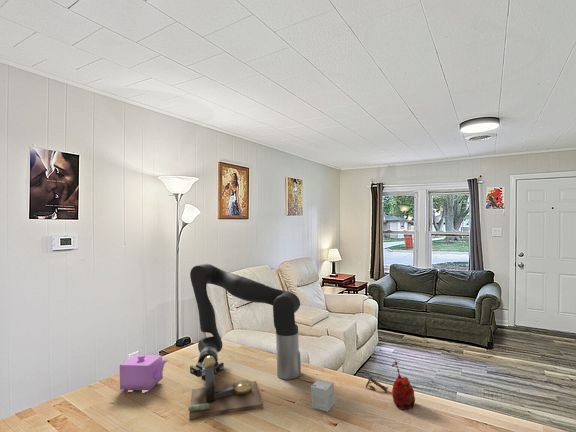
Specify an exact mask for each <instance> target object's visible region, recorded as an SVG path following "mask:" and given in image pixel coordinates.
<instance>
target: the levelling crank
mask: <svg viewBox="0 0 576 432" xmlns="http://www.w3.org/2000/svg"><path fill="white" fill-rule="evenodd" d="M203 363H204V366H205V381H204V382H205V384H204V385H205V388H206V402H207V403H211V402H214V401H215V400H216V399H219V398H222V397H226V396H229V395H232V394H235V395H239V396H242V395H247V394H249V393H250V392H251V391H252V383H251V382H252V381H251V380H248V379H239V380H236V381H234V382H233V383H231V384H232V387H229V388H226V389H222V390H219V391H215V389H214V386H215V375H214V364H215V358H214V357H213V356H207V357H206V358H205V359H204V362H203Z"/></svg>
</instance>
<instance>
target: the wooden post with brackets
mask: <svg viewBox="0 0 576 432" xmlns="http://www.w3.org/2000/svg"><path fill="white" fill-rule="evenodd" d="M366 376H367V375H366ZM366 378H367V380H368V381H367V383H366V384H365V388H368V387H370V389H371V391H373V390H374V391H375V390H376V388H375V386H377V387H379V388H380V389H381V390H382V391H384V393H385V394H386V393H387V392H388V389H389V386H384V385H383V384H382V383H380V382H378V381H377V380H374V379H373V377H372V376H367V377H366ZM371 383H373V384H374V385H375V386H373V385H372V384H371Z"/></svg>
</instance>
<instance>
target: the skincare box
mask: <svg viewBox="0 0 576 432" xmlns="http://www.w3.org/2000/svg"><path fill="white" fill-rule="evenodd" d="M334 384H335V383H334V382H333V381H328V380H325V379H324V380H323V379H316V381H315V382H313V384H311V386H310V394H311V397H310V398H311V408H312V409H315V410H320V411H324V412H327V413H328V412H329V411H330V410H331V409H332V408H333V406H334V405H335V403H336V402H335V385H334Z"/></svg>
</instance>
